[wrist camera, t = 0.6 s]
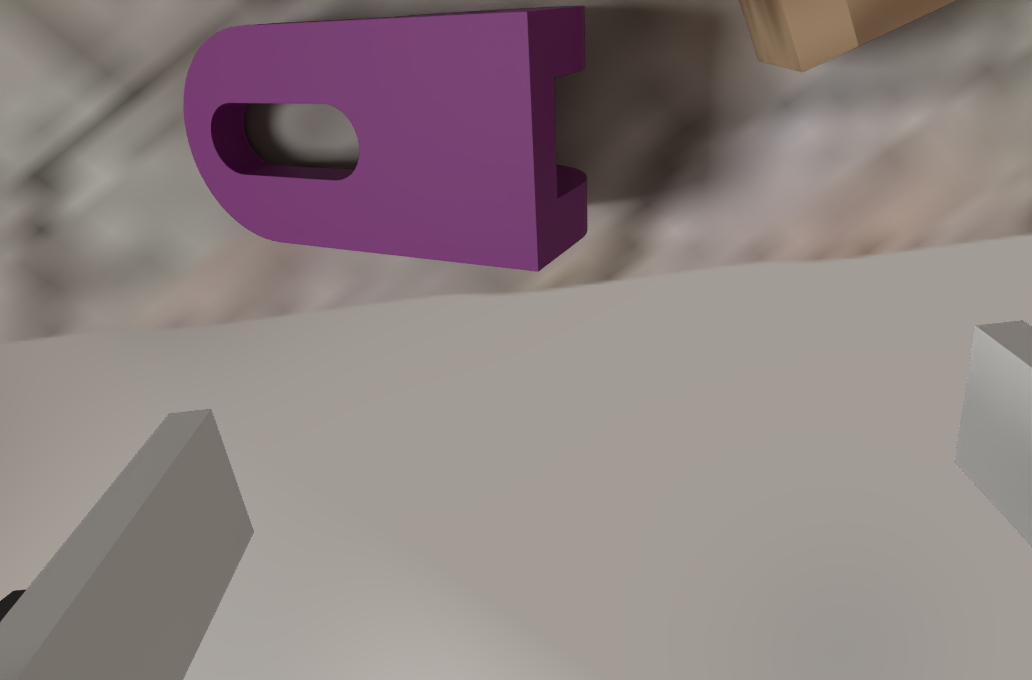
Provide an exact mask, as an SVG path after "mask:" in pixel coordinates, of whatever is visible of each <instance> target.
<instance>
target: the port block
mask: <svg viewBox="0 0 1032 680" xmlns="http://www.w3.org/2000/svg"><path fill="white" fill-rule="evenodd" d="M739 1H740V4H741V7H742V10H743V13H744V17H745V20H746V23H747V26H748V29H749V32H750V35H751V38H752V41H753V44H754V47H755V50H756V54H757V57H758V60H759V61H761V62H765V63H768V64H772V65H776V66H780V67H784V68H787V69H791V70H795V71H799V72H804V71H807V70H809V69H811V68H813V67H815V66H817V65H819V64H822V63H824V62H826V61H828V60H830V59H832V58H834V57H836V56H839V55H841V54H843V53H845V52H847V51H849V50H851V49H853V48H856V47H858V46H860V45H862V44H864V43H866V42H868V41H871V40H873V39H875V38H877V37H879V36H881V35H883V34H885V33H888V32H890V31H892V30H894V29H896V28H898V27H900V26H903V25H905V24H907V23H909V22H911V21H913V20H915V19H917V18H920V17H922V16H924V15H926V14H928V13H930V12H932V11H935V10H937V9H939V8H941V7H943V6H945V5H947V4H949V3H952V2H954V1H956V0H739Z"/></svg>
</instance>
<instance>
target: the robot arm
mask: <svg viewBox="0 0 1032 680" xmlns="http://www.w3.org/2000/svg"><path fill="white" fill-rule="evenodd" d="M954 462H955V463H956V465H957V466H958V467H959V468H960V469H961V470H962V471H963V472H964V473H965V475H966V476H967V477H968V478H969V479H970V480H971V481H972V482H973V483H974V484H975V485H976V487H977V488H978V489H979V490H980V491H981V492H982V493H983V494H984V495H985V496H986V498H987V499H988V500H989V501H990V502H991V503H992V504H993V505H994V506H995V507H996V508H997V510H998V511H999V512H1000V513H1001V514H1002V515H1003V516H1004V517H1005V518H1006V519H1007V520H1008V522H1009V523H1010V524H1011V525H1012V526H1013V527H1014V528H1015V529H1016V530H1017V531H1018V532H1019V534H1020V535H1021V536H1022V537H1023V538H1024V539H1025V540H1026V541H1027V542H1028V544H1029V545H1030V546H1031V547H1032V326H1030V325H1029V324H1027V323H1026V322H1024V321H1023V320H1021V321H1012V322H1003V323H994V324H985V325H976V326H975V331H974V337H973V344H972V350H971V357H970V363H969V370H968V376H967V383H966V389H965V396H964V402H963V409H962V415H961V422H960V428H959V434H958V441H957V447H956V454H955V460H954ZM253 533H254V530H253V528H252V525H251V522H250V519H249V516H248V514H247V510H246V507H245V505H244V502H243V499H242V496H241V493H240V490H239V487H238V485H237V482H236V479H235V476H234V473H233V470H232V467H231V464H230V462H229V459H228V456H227V453H226V450H225V447H224V444H223V441H222V439H221V436H220V433H219V430H218V427H217V424H216V421H215V419H214V416H213V413H212V410H211V409H206V410H196V411H188V412H179V413H170V414H168V416H167V417H166V418H165V419H164V421H163V422H162V423H161V424H160V425H159V427H158V428H157V429H156V430H155V432H154V433H153V434H152V435H151V437H150V438H149V439H148V440H147V441H146V443H145V444H144V445H143V446H142V448H141V449H140V450H139V451H138V453H137V454H136V455H135V456H134V457H133V459H132V460H131V461H130V463H129V464H128V465H127V466H126V467H125V469H124V470H123V471H122V472H121V474H120V475H119V476H118V477H117V478H116V480H115V481H114V482H113V484H112V485H111V486H110V487H109V488H108V490H107V491H106V492H105V493H104V495H103V496H102V497H101V498H100V500H99V501H98V502H97V503H96V504H95V506H94V507H93V508H92V509H91V511H90V512H89V513H88V514H87V516H86V517H85V518H84V519H83V520H82V522H81V523H80V524H79V525H78V527H77V528H76V529H75V530H74V532H73V533H72V534H71V535H70V537H69V538H68V539H67V540H66V542H65V543H64V544H63V545H62V546H61V548H60V549H59V550H58V552H57V553H56V554H55V555H54V556H53V558H52V559H51V560H50V561H49V563H48V564H47V565H46V566H45V567H44V569H43V570H42V571H41V572H40V574H39V575H38V576H37V577H36V579H35V580H34V581H33V582H32V583H31V585H30V586H29V587H28V588H27V590H17V591H13V592H11V593H10V594H9V595H7V596H6V597H5V598H4V599H2V600H1V601H0V680H183V679H184V676H185V674H186V672H187V670H188V668H189V666H190V664H191V662H192V660H193V658H194V656H195V654H196V651H197V649H198V647H199V645H200V643H201V641H202V639H203V637H204V635H205V633H206V631H207V629H208V626H209V624H210V622H211V620H212V618H213V616H214V614H215V612H216V610H217V608H218V606H219V603H220V602H221V599H222V597H223V595H224V593H225V591H226V589H227V587H228V585H229V582H230V581H231V579H232V577H233V574H234V572H235V570H236V568H237V566H238V564H239V562H240V560H241V558H242V556H243V554H244V552H245V549H246V547H247V545H248V543H249V541H250V539H251V537H252V535H253Z"/></svg>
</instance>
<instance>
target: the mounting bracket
mask: <svg viewBox="0 0 1032 680" xmlns="http://www.w3.org/2000/svg"><path fill="white" fill-rule="evenodd" d="M584 69H585V17H584V6H561V7H540V8H520V9H503V10H486V11H469V12H453V13H437V14H423V15H410V16H397V17H384V18H368V19H349V20H329V21H309V22H289V23H271V24H258V25H244V26H235V27H230V28H227V29H223V30H221V31H219V32H217V33H216V34H214V35H213V36H211V37H210V38H209V39H208V40H207V41H206V42H205V43H204V44H203V45H202V46H201V47H200V49H199V50H198V51H197V53H196V55H195V57H194V59H193V60H192V63H191V65H190V68H189V71H188V75H187V78H186V83H185V90H184V120H185V127H186V133H187V137H188V141H189V145H190V148H191V152H192V155H193V157H194V160H195V163H196V165H197V167H198V169H199V172H200V174H201V176H202V178H203V179H204V181H205V183H206V185H207V186H208V188H209V190H210V191H211V193H212V194H213V196H214V197H215V198H216V200H217V201H218V202H219V204H220V205H221V206H222V207H223V208H224V209H225V210H226V211H227V212H228V213H229V214H230V215H231V216H232V217H233V218H234V219H235V220H236V221H237V222H238V223H240V224H241V225H242V226H244V227H245V228H247V229H248V230H250V231H251V232H253V233H255V234H257V235H259V236H261V237H263V238H266V239H269V240H272V241H277V242H283V243H292V244H301V245H310V246H318V247H327V248H336V249H345V250H354V251H362V252H371V253H380V254H389V255H397V256H406V257H415V258H424V259H433V260H441V261H450V262H459V263H468V264H476V265H485V266H494V267H503V268H511V269H520V270H529V271H540V270H541V269H542V268H544V267H545V266H546V265H547V264H549V263H550V262H551V261H553V260H554V259H555V258H557V257H558V256H559V255H561V254H562V253H563V252H565V251H566V250H567V249H569V248H570V247H571V246H573V245H574V244H575V243H576V242H578V241H579V240H580V239H582V238H583V237H584V236H585V235H586V233H587V176H586V174H585V173H584V172H582V171H580V170H578V169H575V168H571V167H567V166H562V165H556V135H555V102H554V78H557V77H561V76H564V75H568V74H571V73H575V72H579V71H582V70H584ZM250 103H294V104H328V105H331V106H334V107H336V108H337V109H339V110H340V111H341V112H343V113H344V114H345V115H346V116H347V118H348V119H349V120H350V122H351V123H352V125H353V127H354V129H355V131H356V134H357V137H358V141H359V160H358V163H357V166H356V168H355V170H348V169H330V168H312V167H295V166H277V165H271V164H268V163H266V162H265V161H263V160H262V159H261V158H259V157H258V156H257V155H256V153H255V152H254V151H253V149H252V148H251V146H250V144H249V142H248V140H247V137H246V133H245V128H244V116H245V112H246V109H247V107H248V105H249V104H250Z"/></svg>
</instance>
